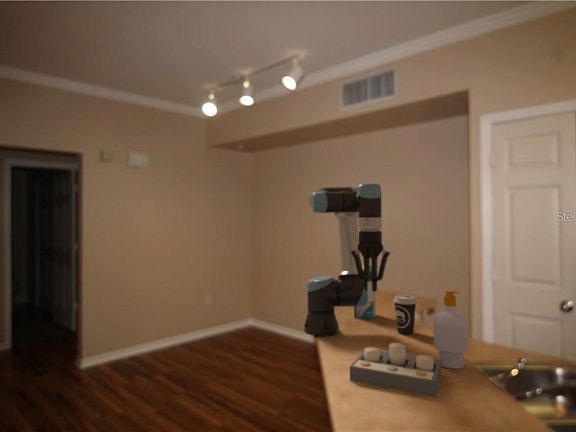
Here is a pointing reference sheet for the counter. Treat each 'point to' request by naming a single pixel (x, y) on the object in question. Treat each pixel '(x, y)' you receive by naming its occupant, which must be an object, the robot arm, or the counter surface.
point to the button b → (397, 354)
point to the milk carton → (366, 306)
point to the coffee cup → (405, 313)
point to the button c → (424, 362)
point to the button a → (372, 354)
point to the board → (397, 374)
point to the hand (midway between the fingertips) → (371, 300)
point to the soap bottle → (451, 333)
